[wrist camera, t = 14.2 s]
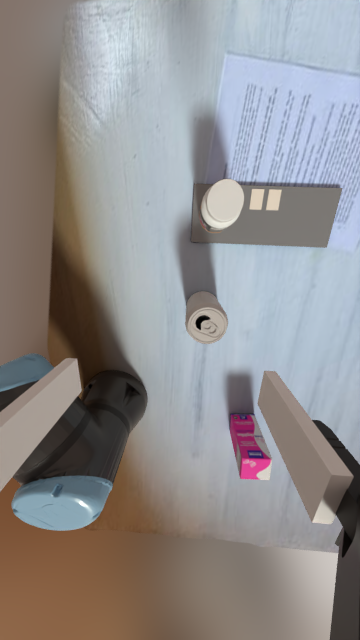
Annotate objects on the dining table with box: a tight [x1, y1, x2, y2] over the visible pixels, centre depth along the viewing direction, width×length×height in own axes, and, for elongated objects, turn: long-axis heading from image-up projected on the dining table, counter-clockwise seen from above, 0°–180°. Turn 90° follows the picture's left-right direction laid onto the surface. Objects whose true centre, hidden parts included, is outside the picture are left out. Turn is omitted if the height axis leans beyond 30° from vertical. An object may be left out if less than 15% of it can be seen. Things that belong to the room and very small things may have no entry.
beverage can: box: [185, 291, 228, 344], centre depth 33 cm, size 6×6×12 cm
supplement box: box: [230, 414, 272, 480], centre depth 42 cm, size 6×6×12 cm
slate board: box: [191, 184, 342, 248], centre depth 33 cm, size 24×9×1 cm, turn 88°
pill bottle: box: [199, 179, 244, 233], centre depth 29 cm, size 6×6×10 cm
